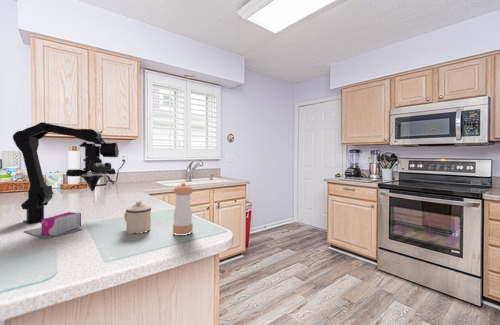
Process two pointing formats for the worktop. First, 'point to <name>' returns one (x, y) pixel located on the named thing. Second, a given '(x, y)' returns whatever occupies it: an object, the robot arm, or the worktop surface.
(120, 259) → the worktop surface
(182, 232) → the pepper shaker
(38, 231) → the slate mat
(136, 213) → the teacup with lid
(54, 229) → the supplement box
